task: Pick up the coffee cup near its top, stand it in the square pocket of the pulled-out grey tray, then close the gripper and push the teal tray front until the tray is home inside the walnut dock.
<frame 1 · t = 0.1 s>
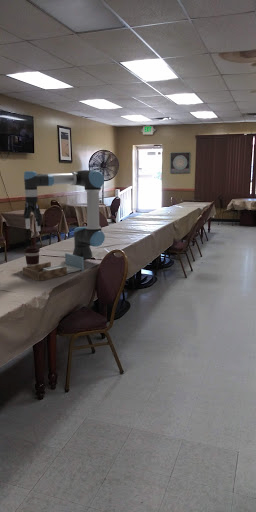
hand: (33, 230, 250), 28 cm above the table, fingers open, 13 cm apart
housing: (44, 275, 250), on the table
coffee cup: (33, 269, 264), on the table
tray: (62, 264, 258), point 5 cm above the table, slide at 12.0 cm
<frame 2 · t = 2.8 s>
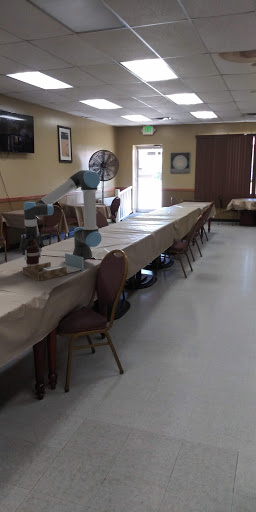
hand: (32, 258, 263), 7 cm above the table, fingers closed on coffee cup, 10 cm apart
coffee cup: (33, 269, 264), on the table, touching gripper
everything else where it was.
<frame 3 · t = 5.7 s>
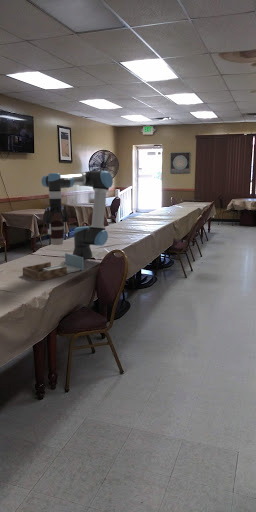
hand: (56, 233, 252), 26 cm above the table, fingers closed on coffee cup, 10 cm apart
coffee cup: (57, 244, 254), point 18 cm above the table, touching gripper
everything else where it was.
when the fingers open (10 cm above the table, at t = 8.8 s): coffee cup stays where it is, resting on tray.
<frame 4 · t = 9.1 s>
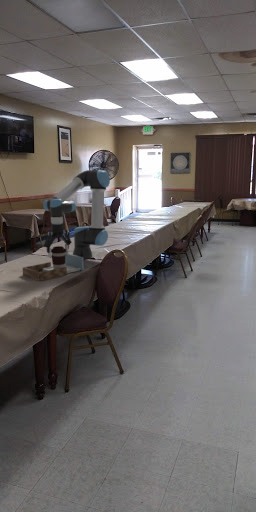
hand: (58, 256, 255), 11 cm above the table, fingers open, 13 cm apart
coffee cup: (59, 269, 257), point 1 cm above the table, touching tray
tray: (62, 264, 258), point 5 cm above the table, slide at 11.9 cm, touching coffee cup
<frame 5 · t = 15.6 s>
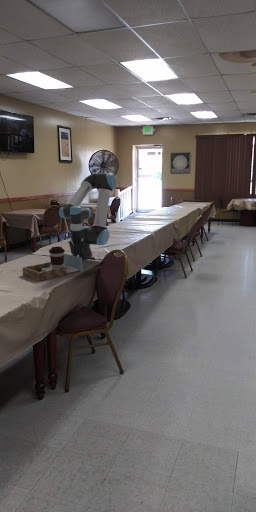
hand: (77, 264, 267), 3 cm above the table, fingers closed
coffee cup: (57, 270, 256), point 1 cm above the table, touching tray
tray: (60, 264, 257), point 5 cm above the table, slide at 10.7 cm, touching coffee cup, gripper
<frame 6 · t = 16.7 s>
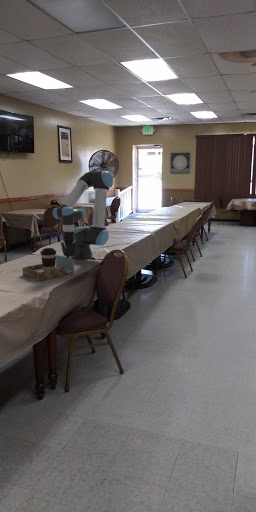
hand: (69, 265, 263), 3 cm above the table, fingers closed
coffee cup: (49, 272, 252), point 1 cm above the table, touching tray
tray: (52, 266, 253), point 5 cm above the table, slide at 4.4 cm, touching coffee cup, gripper
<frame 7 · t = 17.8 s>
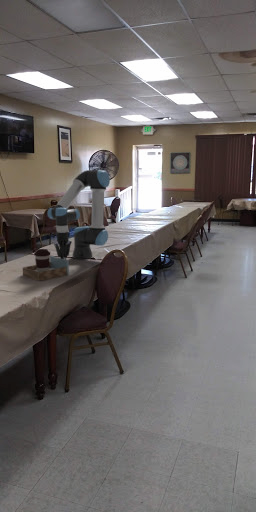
hand: (63, 266, 259), 3 cm above the table, fingers closed
coffee cup: (43, 273, 249), point 1 cm above the table, touching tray
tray: (46, 267, 250), point 5 cm above the table, slide at -0.2 cm, touching coffee cup, gripper
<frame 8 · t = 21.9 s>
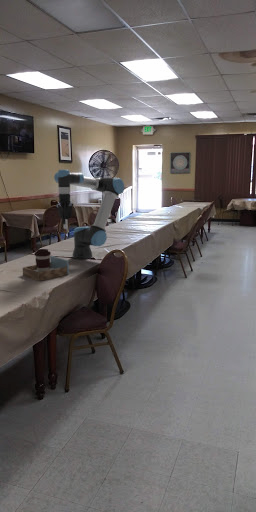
hand: (65, 228, 264), 26 cm above the table, fingers closed
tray: (46, 267, 250), point 5 cm above the table, slide at 0.0 cm, touching coffee cup
everything else where it was.
at the end: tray slide at 0.0 cm; coffee cup inside the target area on the housing (0.0 cm from its centre), point 1.2 cm above the housing's base; coffee cup tilted 0° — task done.
